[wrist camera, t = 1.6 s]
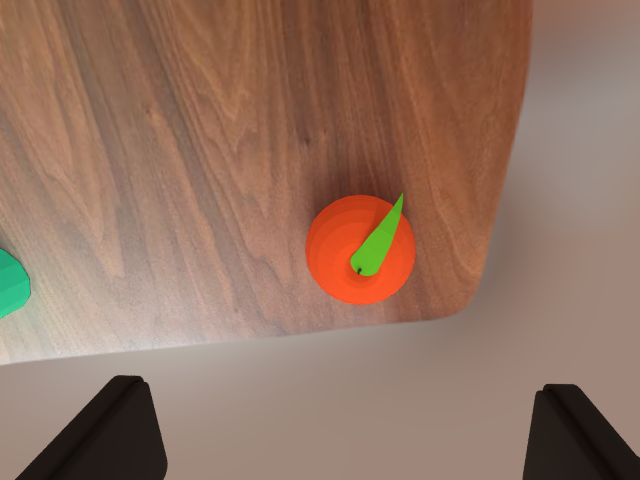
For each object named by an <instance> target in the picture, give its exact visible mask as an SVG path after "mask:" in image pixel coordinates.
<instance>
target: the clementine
mask: <svg viewBox="0 0 640 480" xmlns="http://www.w3.org/2000/svg"><path fill="white" fill-rule="evenodd" d="M402 204H403V193H402V194H401V196H400V198H399V199H398V201H397V203H396V204H395V205H394V206H393V205H391V204H390V203H388V202H386V201H384V200H382V199H379V198H377V197H374V196H367V195H353V196H347V197H344V198H342V199H339V200H336V201H334V202H333V203H331V204H330V205H329V206H327V207H326V208H325V209H323V210H322V211H321V212H320V213H319V214H318V216H317V217H316V218H315V219H314V221H313V222H312V224H311V227H310V229H309V231H308V234H307V240H306V259H307V266H308V268H309V270H310V272H311V275H312V277H313V278H314V280H315V281H316V282H317V283H318V285H319V286H320V287H321V288H322V289H323V290H324V291H325V292H327V293H328V294H329V295H331V296H332V297H333V298H336V299H338V300H340V301H343V302H345V303H350V304H356V305H363V304H372V303H375V302H379V301H382V300H384V299H386V298H387V297H389V296H391V295H392V294H394V293H395V292H396V291H397V290H398V289H399V288H400V287H401V286H402V285H403V284H404V283H405V282H406V280H407V279H408V277H409V275H410V273H411V271H412V270H413V265H414V261H415V257H416V255H415V237H414V235H413V232H412V229H411V226H410V224H409V222H408V221H407V220H406V218H405V217H404V215H403V214H402V213H401V210H402Z"/></svg>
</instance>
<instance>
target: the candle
mask: <svg viewBox="0 0 640 480" xmlns="http://www.w3.org/2000/svg"><path fill="white" fill-rule="evenodd" d="M29 296H30V281H29V277H28V276H27V274H26V272H25V271H24V269H23V267H22V265H21V264H20V262H19V261H17V260H16V259H15V258H13V257H12V256H11V255H9V254H8V253H7V252H6V251H4V250H2V249H0V318H2V317H4V316H6V315H8V314H10V313H11V312H13V311H15V310H17V309H19V308H20V307H22V306H23V305H24V304H25V302H26V301H27V299H28V298H29Z"/></svg>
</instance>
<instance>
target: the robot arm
mask: <svg viewBox="0 0 640 480" xmlns="http://www.w3.org/2000/svg"><path fill="white" fill-rule="evenodd" d="M167 464H168V463H167V457H166V453H165V450H164V445H163V441H162V437H161V433H160V429H159V425H158V421H157V417H156V413H155V408H154V404H153V400H152V396H151V392H150V388H149V385H148V383H147V382H144V380H143V378H142V377H141V376H125V375H119V376H115V377H114V378H112V379H111V380H110V381H109V382H108V383H107V384H106V385H105V386H104V387H103V388H102V390H100V392H99V393H98V394H97V395H96V396H95V397H94V398H93V399H92V400H91V401H90V402H89V403H88V404H87V405H86V406H85V407H84V408H83V409H82V411H80V413H78V415H77V416H76V417H75V418H74V419H73V420H72V421H71V422H70V423H69V424H68V425H67V426H66V427H65V428H64V429H63V430H62V431H61V432H60V433H59V434H58V435H57V436H56V437H55V438H54V439H53V441H52V442H51V443H50V444H49V445H48V446H47V447H46V448H45V449H44V450H43V451H42V452H41V453H40V454H39V455H38V456H37V457H36V458H35V459H34V460H33V461H32V462H31V463H30V465H29V466H28V467H27V468H26V469H25V470H24V471H23V472H22V473H21V474H20V475H19V476H18V477H17V478H16V479H15V480H163V479H164V477H165V475H166V471H167ZM523 480H640V457H638V456H636V454H635V453H634V452H633V451H632V450H631V448H630V447H629V446H628V445H627V444H626V442H625V441H624V440H623V439H622V438H621V436H619V434H618V433H617V432H616V431H615V430H614V428H613V427H612V426H611V425H610V423H609V422H608V421H607V420H606V419H605V418H604V416H603V415H602V414H601V413H600V411H599V410H598V409H597V408H596V407H595V406H594V404H593V403H592V402H591V401H590V400H589V398H588V397H587V396H586V395H585V394H584V393H583V391H582V390H581V389H580V388H579V387H578V386H576V385H574V384H546V385H545V386H544V388H543V391H537V392H536V395H535V401H534V408H533V414H532V420H531V427H530V433H529V439H528V446H527V452H526V459H525V465H524V472H523Z"/></svg>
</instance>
